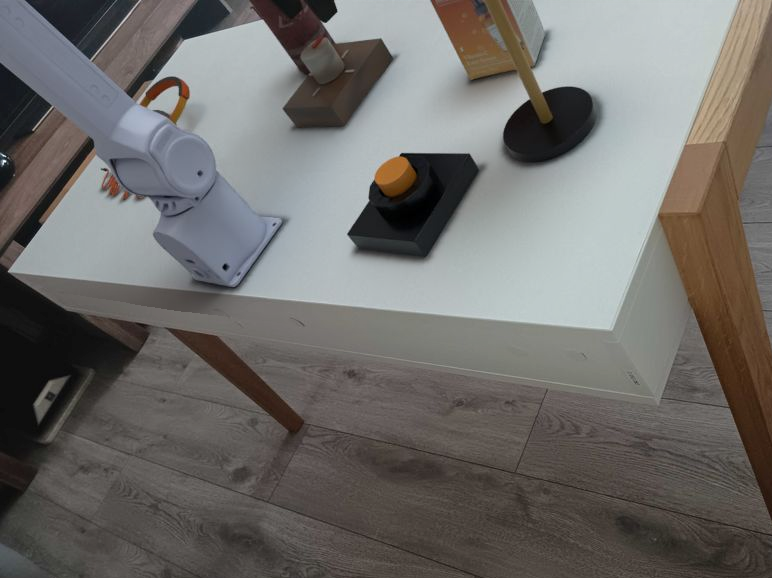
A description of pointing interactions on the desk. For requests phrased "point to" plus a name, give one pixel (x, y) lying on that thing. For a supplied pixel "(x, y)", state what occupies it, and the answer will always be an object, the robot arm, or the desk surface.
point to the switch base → (415, 205)
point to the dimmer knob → (322, 60)
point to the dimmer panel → (339, 86)
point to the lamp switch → (395, 176)
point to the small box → (489, 34)
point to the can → (292, 29)
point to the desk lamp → (541, 107)
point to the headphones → (149, 97)
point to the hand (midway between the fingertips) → (313, 15)
